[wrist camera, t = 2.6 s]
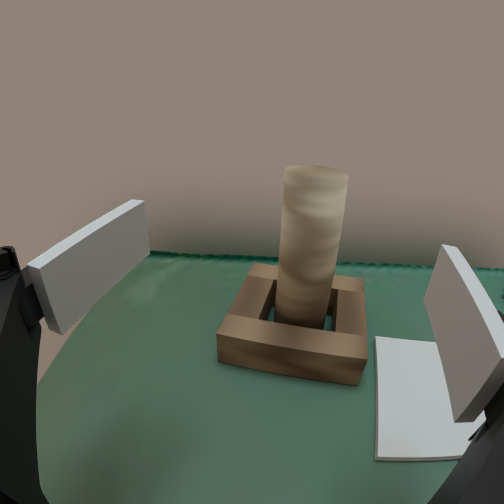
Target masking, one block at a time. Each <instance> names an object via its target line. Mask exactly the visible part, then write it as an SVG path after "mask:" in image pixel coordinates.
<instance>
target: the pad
mask: <svg viewBox="0 0 504 504" xmlns="http://www.w3.org/2000/svg"><path fill="white" fill-rule="evenodd" d="M374 354H375V381H376V437H375V460H378V461H436V460H453V459H461V457H462V456H463V454H464V452H465V451H466V449H467V448H468V446H469V444H470V443H471V441H472V440H471V441H468V439H469V438H470V437H471V436H472V435H473V434H474V433H475V431H476V430H477V429H478V428H479V427H480V426H481V425H482V424H483V423H484V421H485V420H486V417H485V413H484V410H483V411H482V413H481V414H480V415H479V416H478V417H477V419H476V420H475V421H474V422H467V423H454V419H453V414H452V408H451V403H450V398H449V393H448V389H447V384H446V380H445V375H444V371H443V367H442V363H441V359H440V355H439V351H438V348H437V344H436V342H425V341H415V340H405V339H396V338H387V337H379V336H375V339H374Z"/></svg>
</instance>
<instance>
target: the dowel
mask: <svg viewBox="0 0 504 504" xmlns="http://www.w3.org/2000/svg"><path fill="white" fill-rule="evenodd" d="M347 185H348V175H347V174H346V173H345V172H342V171H339V170H336V169H333V168H328V167H322V166H313V165H295V166H289V167H287V168H285V178H284V194H283V210H282V225H281V238H280V252H279V265H278V277H277V290H276V301H275V313H274V322H276V323H282V324H288V325H294V326H300V327H306V328H312V329H319V330H323V327H324V323H325V318H326V313H327V308H328V303H329V298H330V293H331V288H332V282H333V277H334V271H335V266H336V260H337V254H338V248H339V242H340V235H341V229H342V222H343V215H344V208H345V200H346V193H347Z"/></svg>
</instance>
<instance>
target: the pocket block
mask: <svg viewBox="0 0 504 504" xmlns="http://www.w3.org/2000/svg"><path fill="white" fill-rule="evenodd" d="M277 277H278V266H273V265H267V264H260V263H254V264H253V266H252V268H251V270H250V271H249V273H248V275H247V277H246V279H245V281H244V283H243V285H242V287H241V288H240V290H239V292H238V294H237V296H236V298H235V300H234V302H233V304H232V305H231V307H230V309H229V311H228V313H227V315H226V317H225V319H224V320H223V322H222V324H221V326H220V328H219V330H218V332H217V333H216V335H217V351H218V361H220V362H224V363H228V364H233V365H237V366H242V367H246V368H251V369H256V370H261V371H266V372H271V373H276V374H282V375H287V376H293V377H299V378H305V379H311V380H318V381H325V382H332V383H339V384H347V385H355V386H357V385H358V383H359V380H360V378H361V375H362V373H363V370H364V368H365V365H366V363H367V360H368V348H367V325H366V308H365V294H364V281H363V279H361V278H354V277H347V276H341V275H334V277H333V282H332V288H331V293H330V298H329V303H328V308H327V313H326V314H330V315H333V316H332V328H331V331H325V330H319V329H312V328H306V327H300V326H294V325H288V324H282V323H276V322H270V321H266V320H267V317H268V314H269V312H270V309H271V306H272V305H273V306H275V301H276V290H277Z"/></svg>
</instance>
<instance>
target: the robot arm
mask: <svg viewBox="0 0 504 504" xmlns="http://www.w3.org/2000/svg"><path fill="white" fill-rule="evenodd" d="M149 254H150V250H149V240H148V230H147V220H146V209H145V201H142V200H130V201H128V202H126V203H125V204H123V205H121V206H119V207H118V208H116V209H114V210H112V211H110V212H109V213H107V214H105V215H104V216H102V217H100V218H98V219H97V220H95V221H94V222H92V223H90V224H88V225H87V226H85V227H83V228H82V229H80V230H79V231H77V232H75V233H74V234H72V235H70V236H69V237H67V238H66V239H64V240H63V241H61V242H59V243H58V244H56V245H55V246H53V247H52V248H50V249H49V250H47V251H46V252H44V253H43V254H41V255H40V256H38V257H37V258H35V259H34V260H32V261H31V262H29V263H28V264H27V267H25V268H24V269H22V270H21V269H20V266H19V263H18V259H17V256H16V252H15V249H14V248H13V247H12V246H4V247H0V504H49V503H48V501H47V499H46V498H45V496H44V494H43V493H42V490H41V487H40V482H39V472H38V461H37V445H36V386H37V368H38V357H39V345H40V338H41V325H40V323H39V321H40V319H42V318H43V317H44V318H45V320H46V323H47V325H48V328H49V329H50V330H52V331H54V332H56V333H58V334H60V335H63V334H64V333H65V332H66V331H67V330H68V329H69V328H70V327H71V326H72V325H73V324H74V323H75V322H76V321H78V319H79V318H81V316H83V314H85V313H86V312H87V311H88V310H89V309H90V308H91V307H92V306H93V305H94V304H95V303H96V302H97V301H98V300H99V299H101V298H102V297H103V296H104V295H105V294H106V293H107V292H108V291H109V290H110V289H111V288H112V287H113V286H115V285H116V284H117V283H118V282H119V281H120V280H121V279H122V278H123V277H124V276H125V275H127V274H128V273H129V272H130V271H131V270H132V269H133V268H134V267H136V266H137V265H138V264H139V263H140V262H141V261H142V260H143V259H145V258H146V257H147V256H148V255H149ZM423 301H424V304H425V307H426V310H427V313H428V317H429V320H430V323H431V326H432V330H433V333H434V337H435V340H436V344H437V348H438V351H439V355H440V359H441V363H442V367H443V371H444V375H445V380H446V384H447V389H448V393H449V398H450V403H451V408H452V414H453V419H454V423H467V422H474V421H475V420H476V419H477V417H478V416H479V415H480V414H481V413H482V411H483V410H484V413H485V417H486V420H485V421H484V423H483V424H482V425H481V426H480V427H479V428H478V429H477V430H476V431H475V433H474V434H473V435H472V436H471V437H470V438H469V439H468V441H471V440H472V441H471V443H470V444H469V446H468V448H467V449H466V451H465V452H464V454H463V456H462V457H461V459H460V460H459V462H458V463H457V465H456V466H455V468H454V469H453V470H452V472H451V473H450V475H449V476H448V478H447V479H446V480H445V482H444V483H443V484H442V486H441V487H440V488H439V490H438V491H437V492H436V494H435V495H434V496H433V497H432V499H431V500H430V501H429V502H428V504H504V315H503V314H502V313H501V312H500V311H498V310H496V308H495V307H494V305H493V303H492V301H491V300H490V298H489V296H488V295H487V293H486V291H485V290H484V288H483V286H482V285H481V283H480V281H479V280H478V278H477V277H476V275H475V274H474V272H473V270H472V269H471V267H470V266H469V265H468V263H467V261H466V260H465V258H464V257H463V256H462V254H461V252H460V251H459V250H458V248H457V247H453V246H448V245H443V244H442V245H441V248H440V251H439V255H438V258H437V261H436V264H435V267H434V270H433V273H432V276H431V279H430V282H429V285H428V288H427V290H426V293H425V296H424V299H423Z"/></svg>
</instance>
